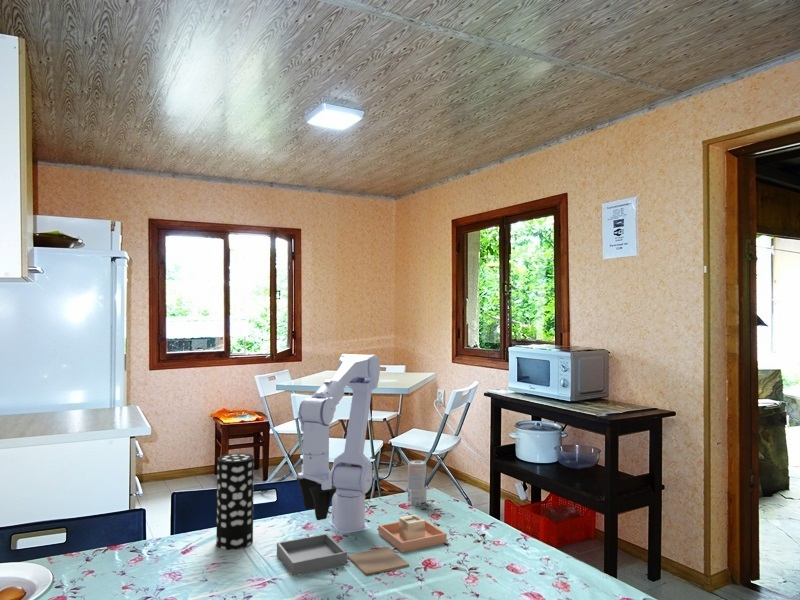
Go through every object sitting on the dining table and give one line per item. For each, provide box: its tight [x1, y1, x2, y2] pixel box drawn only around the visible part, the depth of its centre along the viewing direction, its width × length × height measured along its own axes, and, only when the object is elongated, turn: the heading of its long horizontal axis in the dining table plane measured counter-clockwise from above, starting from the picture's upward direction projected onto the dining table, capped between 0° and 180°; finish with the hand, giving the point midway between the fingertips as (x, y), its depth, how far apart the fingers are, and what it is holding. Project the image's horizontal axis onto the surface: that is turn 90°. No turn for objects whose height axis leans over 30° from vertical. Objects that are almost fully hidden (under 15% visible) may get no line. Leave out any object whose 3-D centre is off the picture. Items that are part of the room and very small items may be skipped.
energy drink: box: [407, 459, 428, 507], centre depth 163 cm, size 5×5×12 cm
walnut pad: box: [347, 546, 410, 577], centre depth 123 cm, size 10×10×1 cm
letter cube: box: [398, 514, 426, 541], centre depth 136 cm, size 4×4×5 cm
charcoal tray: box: [276, 533, 348, 577], centre depth 126 cm, size 12×12×3 cm
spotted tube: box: [215, 452, 255, 551], centre depth 135 cm, size 8×8×20 cm
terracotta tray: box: [378, 517, 447, 553], centre depth 136 cm, size 12×12×3 cm
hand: (315, 513), depth 126 cm, fingers open, 7 cm apart
